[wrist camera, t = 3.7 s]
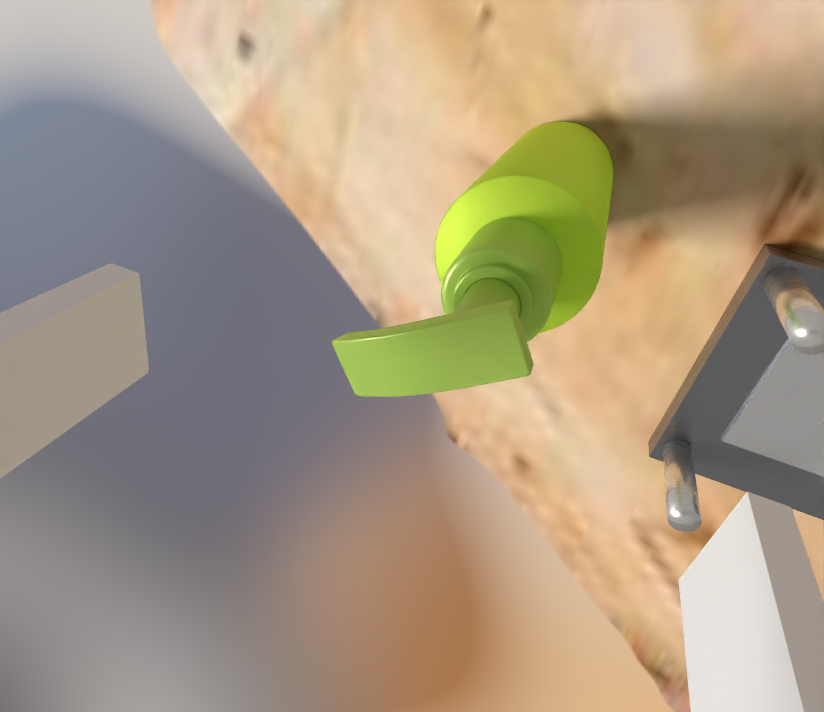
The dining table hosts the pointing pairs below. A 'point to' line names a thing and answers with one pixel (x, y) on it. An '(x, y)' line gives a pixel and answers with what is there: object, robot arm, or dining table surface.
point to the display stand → (754, 396)
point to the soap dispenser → (500, 270)
